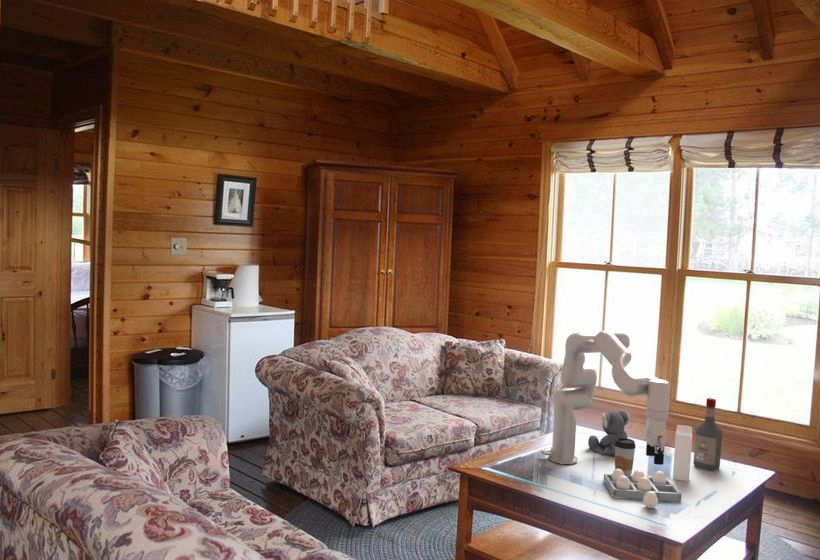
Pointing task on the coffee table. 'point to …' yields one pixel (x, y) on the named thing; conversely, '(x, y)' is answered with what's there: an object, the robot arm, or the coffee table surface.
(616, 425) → the koala plush
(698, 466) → the liquor
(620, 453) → the coffee cup
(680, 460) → the milk
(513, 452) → the coffee table surface
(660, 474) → the carton
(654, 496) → the egg
